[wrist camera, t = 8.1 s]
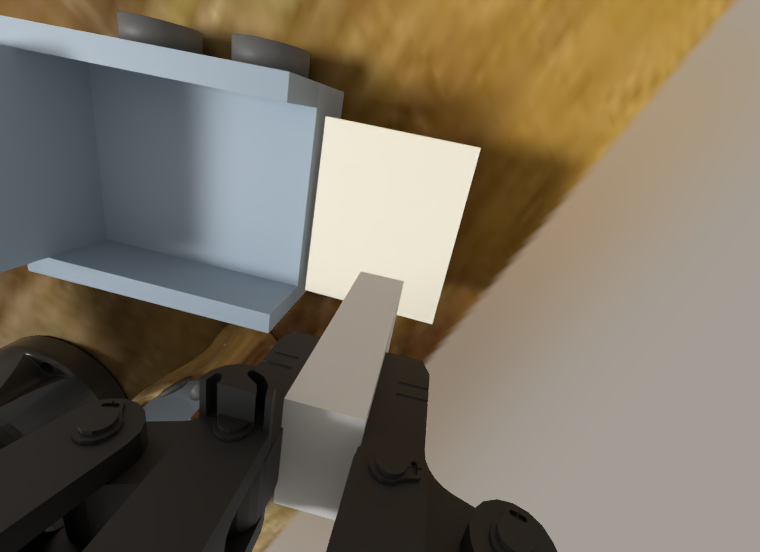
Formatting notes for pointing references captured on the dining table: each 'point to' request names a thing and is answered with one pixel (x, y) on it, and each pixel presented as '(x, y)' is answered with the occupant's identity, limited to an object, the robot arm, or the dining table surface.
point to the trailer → (161, 165)
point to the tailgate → (387, 211)
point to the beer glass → (202, 373)
